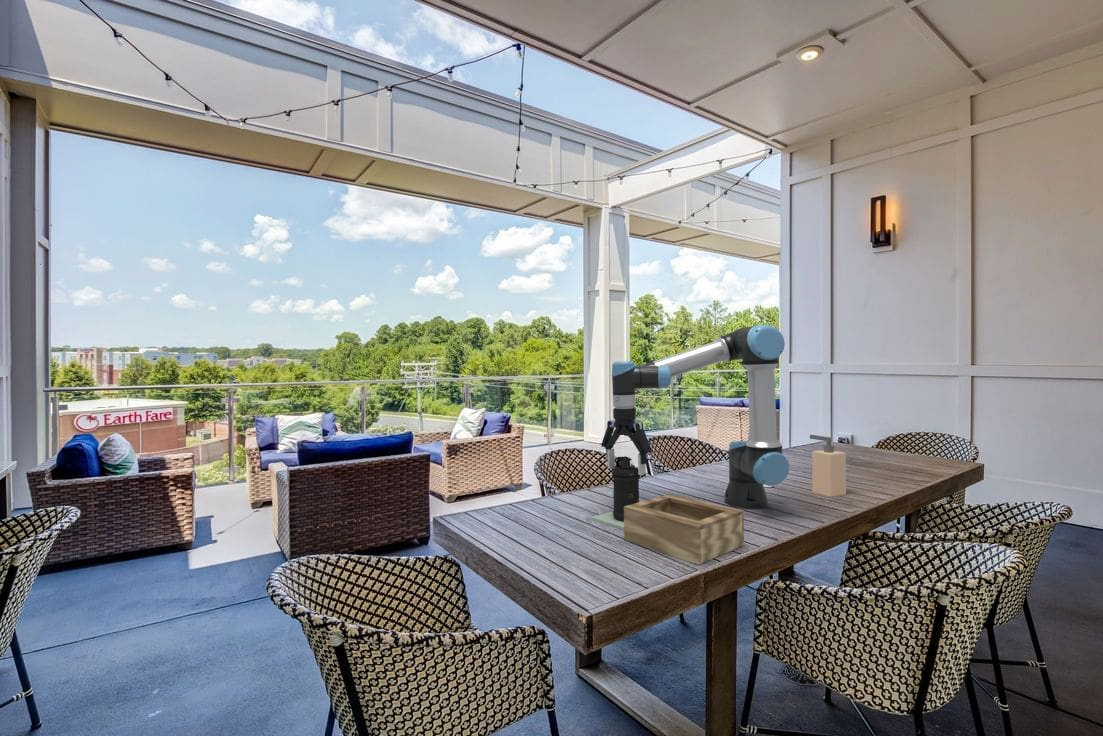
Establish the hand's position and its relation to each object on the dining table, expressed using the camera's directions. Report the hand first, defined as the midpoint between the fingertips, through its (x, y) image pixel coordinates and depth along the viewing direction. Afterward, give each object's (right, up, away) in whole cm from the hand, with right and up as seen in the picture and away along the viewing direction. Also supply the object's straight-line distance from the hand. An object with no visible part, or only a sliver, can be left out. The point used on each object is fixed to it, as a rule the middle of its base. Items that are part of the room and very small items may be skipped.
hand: (626, 471), depth 179 cm
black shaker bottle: (0, -16, 0) cm, 16 cm away
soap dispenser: (+84, -15, +34) cm, 92 cm away
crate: (+13, -17, -22) cm, 31 cm away
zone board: (0, -16, 0) cm, 16 cm away
